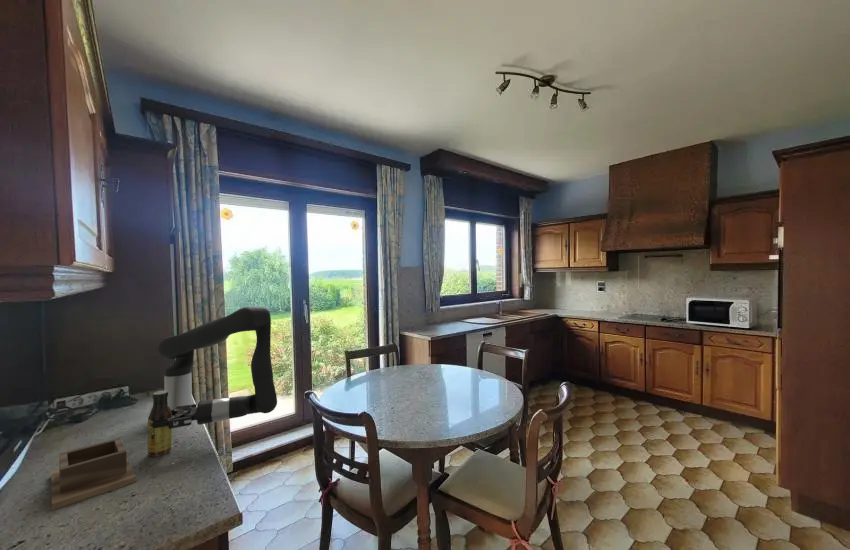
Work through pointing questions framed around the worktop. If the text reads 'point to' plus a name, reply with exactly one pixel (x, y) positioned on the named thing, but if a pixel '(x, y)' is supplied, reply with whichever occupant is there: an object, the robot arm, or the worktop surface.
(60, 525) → the worktop surface
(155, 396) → the sauce bottle
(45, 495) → the worktop surface
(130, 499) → the worktop surface
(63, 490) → the walnut caddy
